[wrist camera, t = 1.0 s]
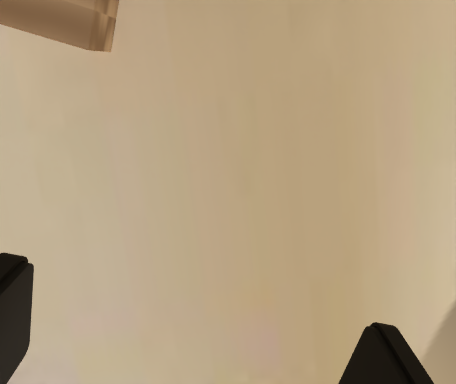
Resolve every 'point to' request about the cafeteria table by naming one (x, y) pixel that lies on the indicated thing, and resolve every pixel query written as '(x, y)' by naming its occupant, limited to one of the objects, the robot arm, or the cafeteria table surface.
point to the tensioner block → (64, 20)
